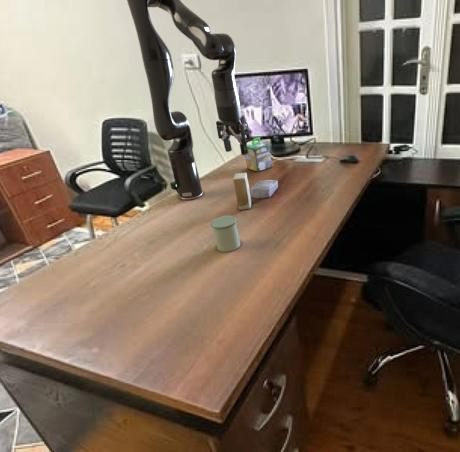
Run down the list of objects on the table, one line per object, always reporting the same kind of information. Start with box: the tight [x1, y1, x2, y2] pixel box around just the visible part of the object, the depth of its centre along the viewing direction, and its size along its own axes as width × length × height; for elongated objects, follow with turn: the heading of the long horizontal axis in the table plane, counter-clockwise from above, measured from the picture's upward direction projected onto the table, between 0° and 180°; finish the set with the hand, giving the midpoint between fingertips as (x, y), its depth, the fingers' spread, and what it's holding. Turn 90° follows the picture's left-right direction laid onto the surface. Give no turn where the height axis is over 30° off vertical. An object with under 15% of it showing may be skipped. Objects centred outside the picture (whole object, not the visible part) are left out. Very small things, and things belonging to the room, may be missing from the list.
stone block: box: [249, 179, 279, 199], centre depth 142 cm, size 12×5×10 cm
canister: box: [210, 215, 241, 253], centre depth 104 cm, size 7×7×8 cm
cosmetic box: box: [232, 172, 252, 211], centre depth 128 cm, size 6×4×12 cm
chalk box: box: [244, 136, 273, 173], centre depth 167 cm, size 9×9×15 cm
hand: (236, 152), depth 121 cm, fingers open, 8 cm apart
